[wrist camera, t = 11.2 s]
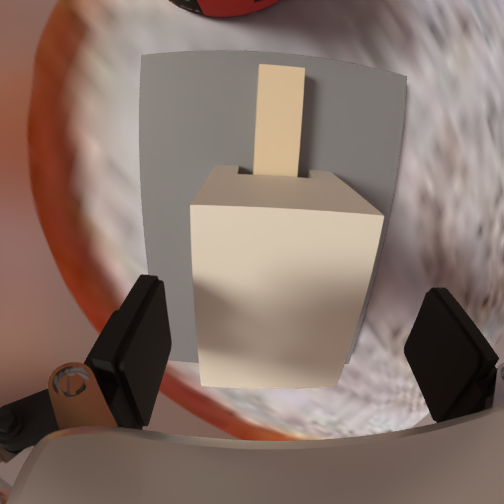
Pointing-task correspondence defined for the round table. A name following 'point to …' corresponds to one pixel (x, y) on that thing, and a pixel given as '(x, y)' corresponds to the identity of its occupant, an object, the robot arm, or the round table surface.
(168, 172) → the mount board
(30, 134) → the round table surface
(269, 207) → the cabinet block
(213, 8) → the canned food
